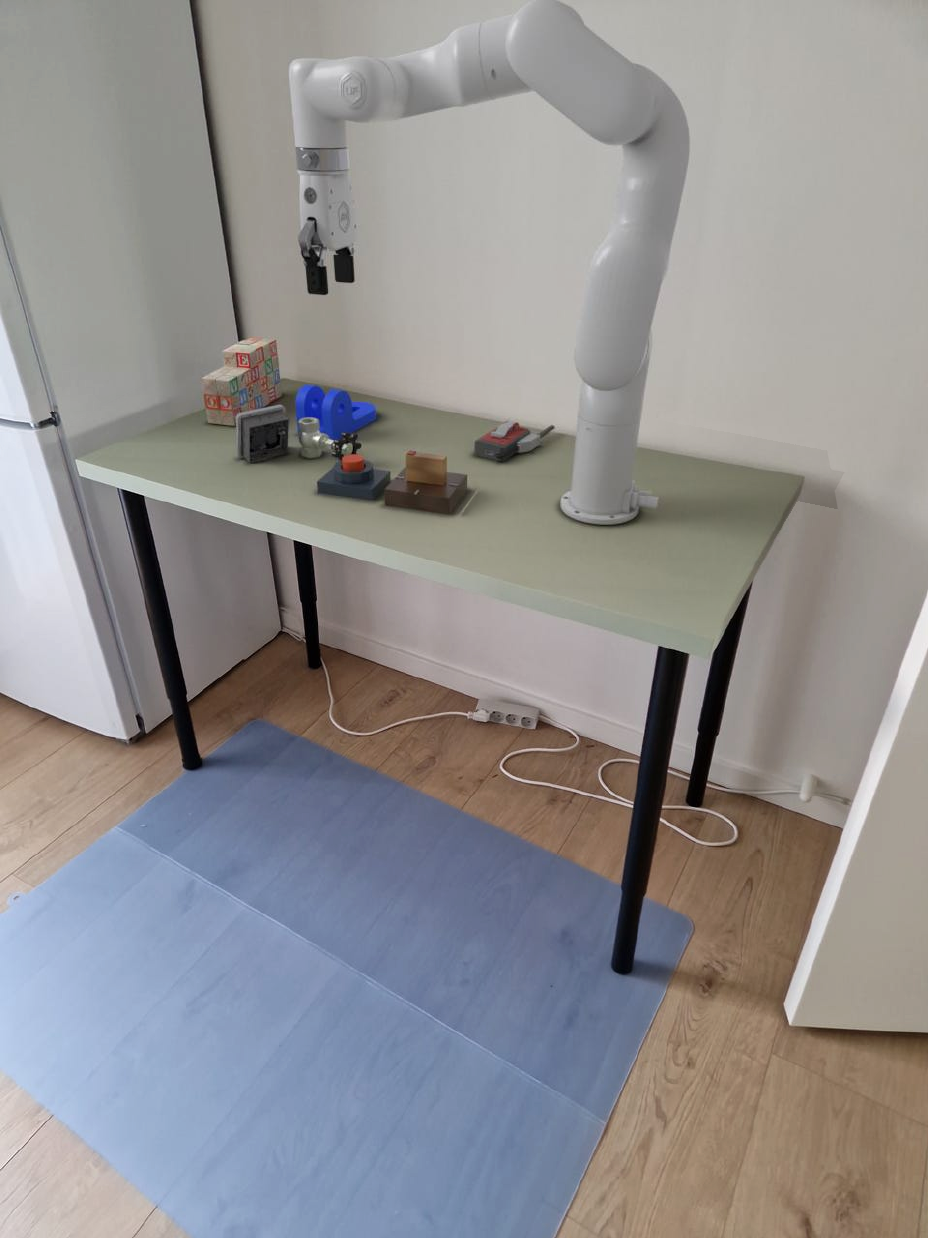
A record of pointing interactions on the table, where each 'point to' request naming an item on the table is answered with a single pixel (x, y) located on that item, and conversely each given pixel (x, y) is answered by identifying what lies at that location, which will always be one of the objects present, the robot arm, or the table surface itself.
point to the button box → (354, 482)
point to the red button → (353, 462)
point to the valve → (323, 440)
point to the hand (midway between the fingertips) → (332, 287)
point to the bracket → (333, 410)
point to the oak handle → (426, 468)
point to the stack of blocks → (242, 381)
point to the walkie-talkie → (507, 441)
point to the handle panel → (426, 493)
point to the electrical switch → (262, 433)
